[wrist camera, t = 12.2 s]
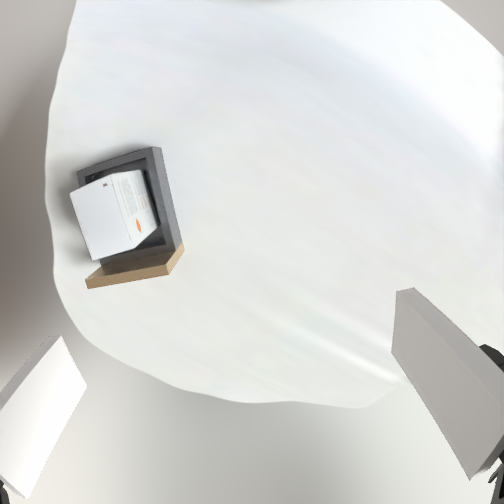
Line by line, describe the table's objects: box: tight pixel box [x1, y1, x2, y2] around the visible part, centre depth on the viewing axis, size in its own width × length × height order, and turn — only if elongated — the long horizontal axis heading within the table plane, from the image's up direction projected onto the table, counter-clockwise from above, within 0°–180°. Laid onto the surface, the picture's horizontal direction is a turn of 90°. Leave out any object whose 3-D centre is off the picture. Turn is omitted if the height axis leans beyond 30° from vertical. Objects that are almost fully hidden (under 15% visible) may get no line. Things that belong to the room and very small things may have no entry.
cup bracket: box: [77, 147, 184, 289], centre depth 34 cm, size 11×14×9 cm
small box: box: [69, 169, 160, 261], centre depth 32 cm, size 8×6×10 cm
